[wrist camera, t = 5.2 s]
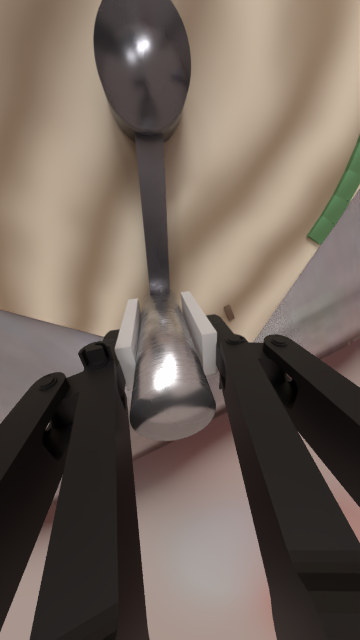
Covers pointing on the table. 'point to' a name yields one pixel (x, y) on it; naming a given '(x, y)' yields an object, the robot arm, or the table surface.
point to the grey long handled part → (154, 203)
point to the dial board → (176, 160)
